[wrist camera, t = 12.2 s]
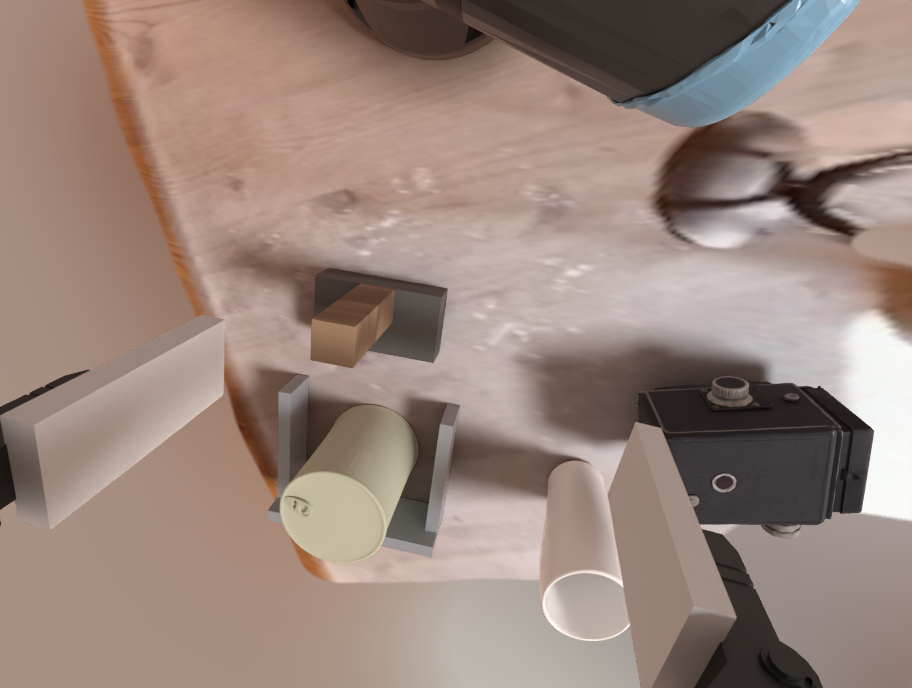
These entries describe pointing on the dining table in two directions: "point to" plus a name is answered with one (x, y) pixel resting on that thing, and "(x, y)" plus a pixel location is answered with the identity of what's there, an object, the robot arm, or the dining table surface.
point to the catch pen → (411, 518)
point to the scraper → (374, 318)
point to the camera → (762, 451)
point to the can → (350, 485)
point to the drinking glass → (581, 557)
